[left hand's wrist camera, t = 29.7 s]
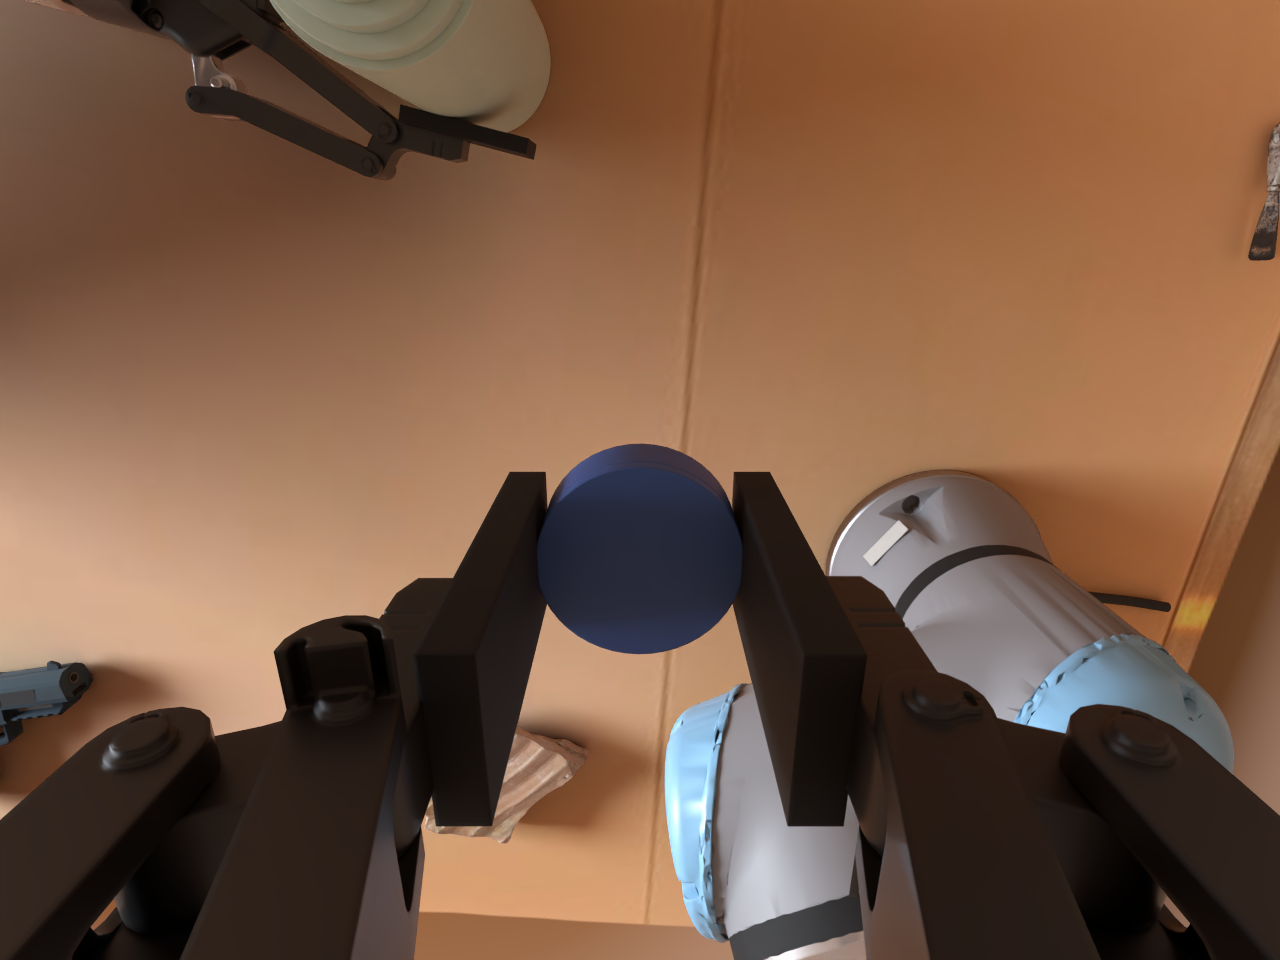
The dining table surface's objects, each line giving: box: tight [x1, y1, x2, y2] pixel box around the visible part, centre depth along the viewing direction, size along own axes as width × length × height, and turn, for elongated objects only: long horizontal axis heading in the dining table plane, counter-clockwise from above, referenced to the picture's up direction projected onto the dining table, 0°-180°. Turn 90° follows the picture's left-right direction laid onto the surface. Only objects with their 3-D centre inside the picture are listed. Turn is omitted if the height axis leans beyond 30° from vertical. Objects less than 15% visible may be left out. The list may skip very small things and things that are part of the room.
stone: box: [424, 726, 588, 843], centre depth 57 cm, size 13×12×3 cm
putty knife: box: [1248, 122, 1280, 260], centre depth 41 cm, size 1×8×2 cm, turn 6°
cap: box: [537, 444, 743, 654], centre depth 14 cm, size 4×4×2 cm
